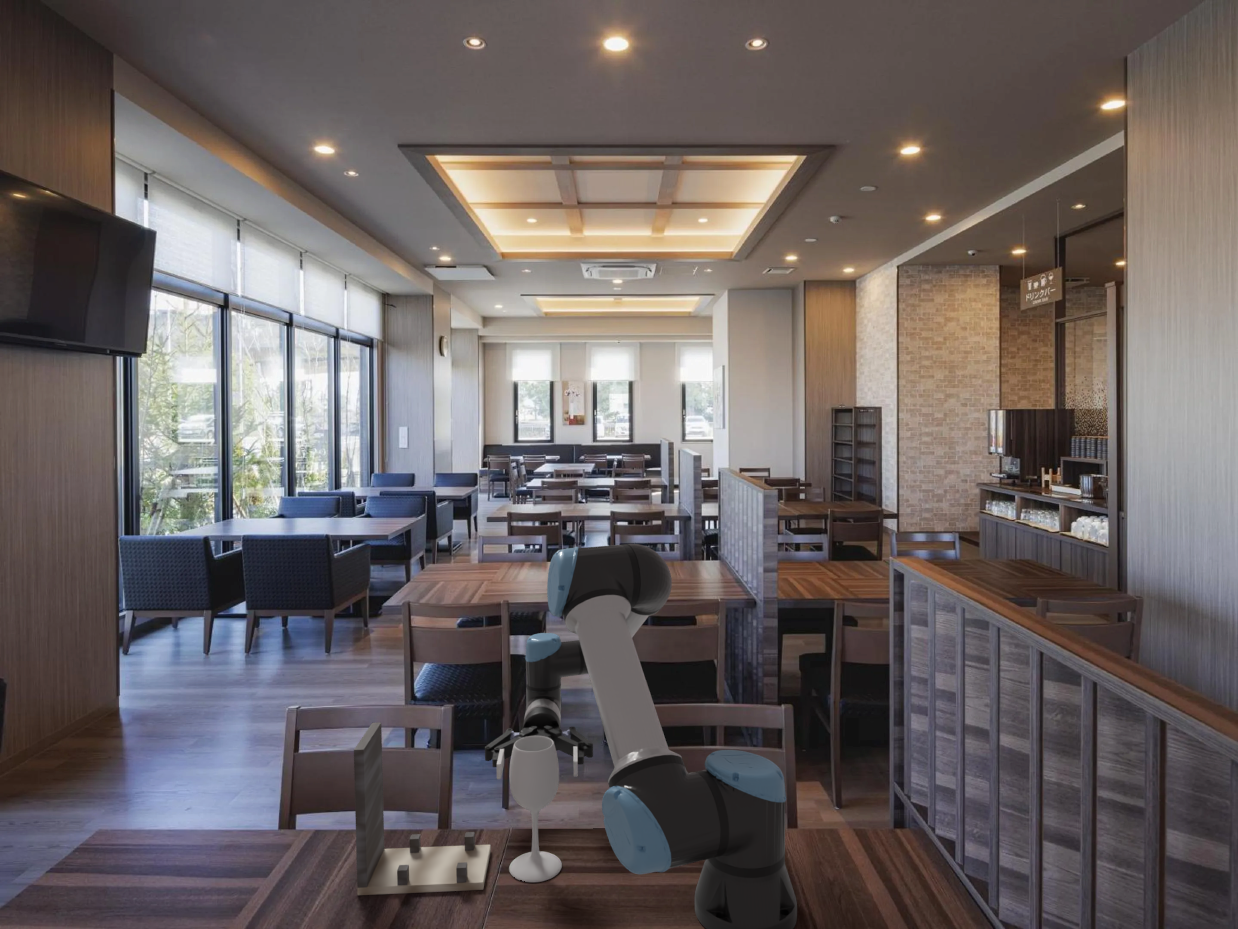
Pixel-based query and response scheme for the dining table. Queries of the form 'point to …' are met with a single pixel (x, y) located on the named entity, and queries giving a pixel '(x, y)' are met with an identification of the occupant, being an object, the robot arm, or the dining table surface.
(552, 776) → the wineglass
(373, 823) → the pegged display stand
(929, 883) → the dining table surface
